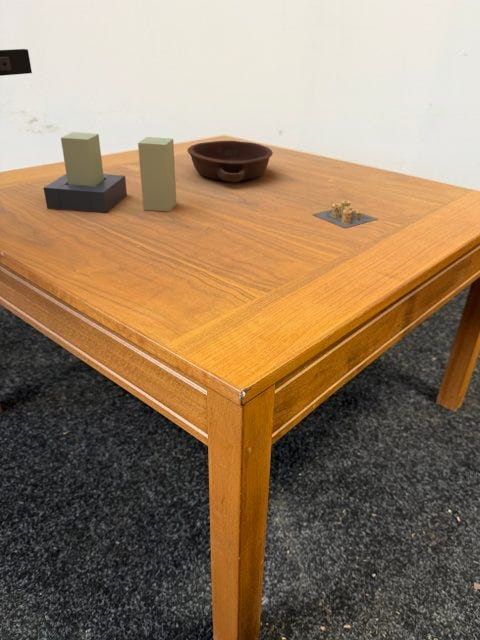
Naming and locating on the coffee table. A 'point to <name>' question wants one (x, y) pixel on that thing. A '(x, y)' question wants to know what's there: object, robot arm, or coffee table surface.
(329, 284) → the coffee table surface
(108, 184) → the socket block
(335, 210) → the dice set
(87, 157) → the tall olive green block
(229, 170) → the dish
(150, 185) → the standing block
